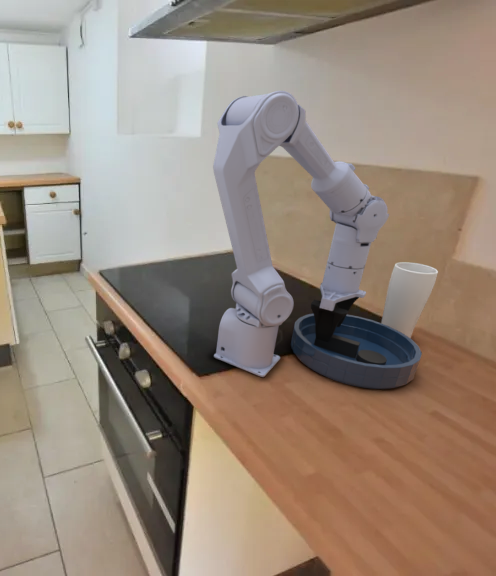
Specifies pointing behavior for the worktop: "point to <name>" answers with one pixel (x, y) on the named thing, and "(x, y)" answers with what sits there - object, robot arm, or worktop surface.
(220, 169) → the robot arm
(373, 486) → the worktop surface
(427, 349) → the worktop surface
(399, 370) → the bowl
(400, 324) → the drinking glass
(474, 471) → the worktop surface
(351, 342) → the ladle
